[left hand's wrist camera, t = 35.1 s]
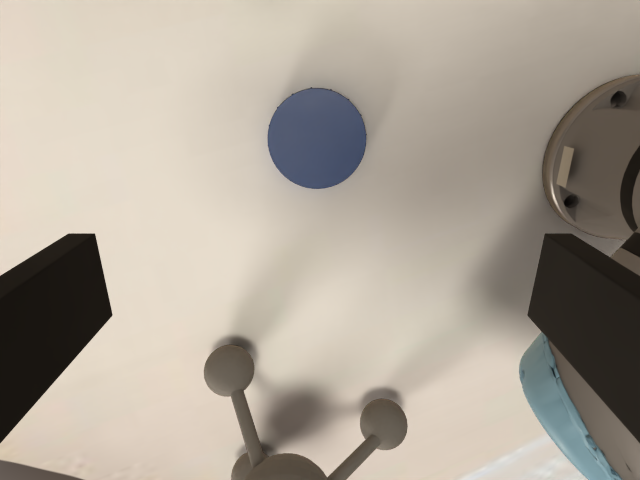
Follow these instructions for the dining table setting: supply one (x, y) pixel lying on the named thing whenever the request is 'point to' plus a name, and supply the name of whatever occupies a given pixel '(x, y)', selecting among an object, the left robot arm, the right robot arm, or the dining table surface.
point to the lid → (316, 138)
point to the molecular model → (290, 469)
